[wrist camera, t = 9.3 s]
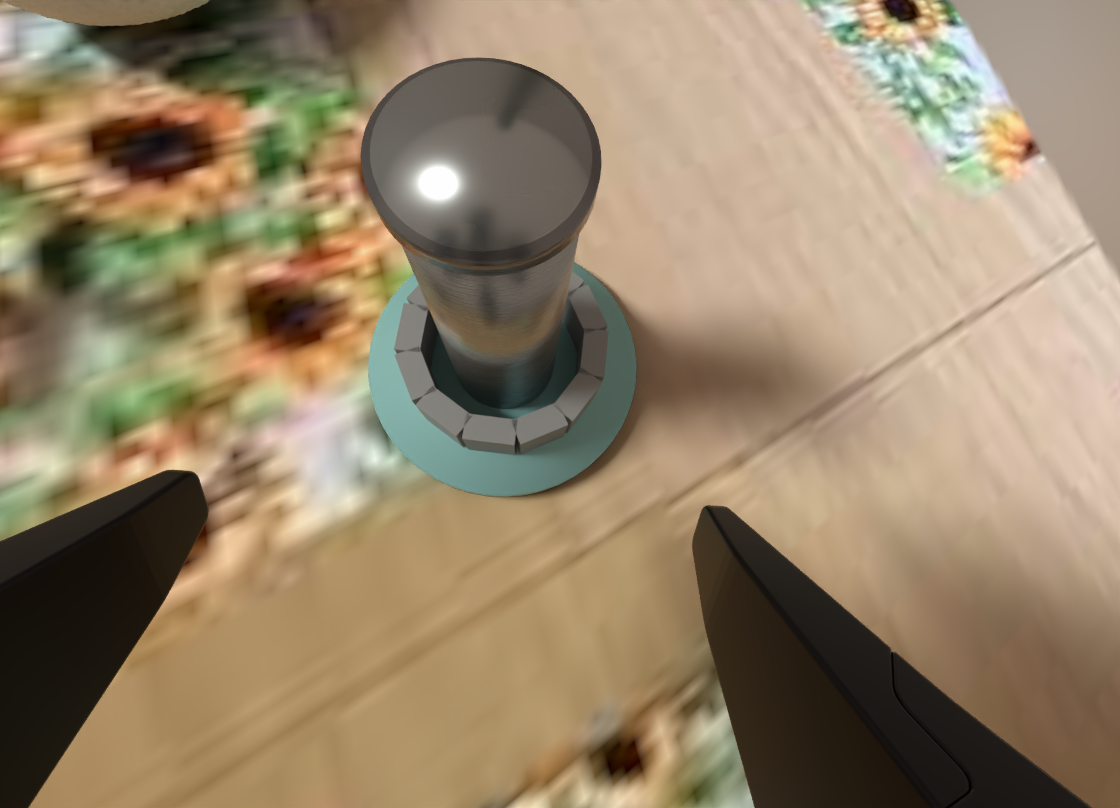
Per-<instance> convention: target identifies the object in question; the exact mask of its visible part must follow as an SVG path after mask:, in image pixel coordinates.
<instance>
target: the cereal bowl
mask: <svg viewBox="0 0 1120 808" xmlns="http://www.w3.org/2000/svg"><path fill="white" fill-rule="evenodd" d="M3 1H4V2H6V3H8V4H10V5H12V6H15V7H19V8H21V9H23V10H25V11H27V12H33V13H37V14H40V15H42V16H44V17H47V18H53V19H58V20H61V21H64V22H71V23H79V24H85V25H88V26H89V25H97V26H116V25H118V26H124V25H135V24H136V25H140V24H143V23H152V22H154V21H159V20H162V19H168V18H170V17H175V16H177V15H180V14H184V13H186V12H187V11H191V10H192V9H194V8H198V7H200V6H201V5H203V4H206V3H207V2H208V1H209V0H3Z"/></svg>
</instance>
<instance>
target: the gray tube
mask: <svg viewBox="0 0 1120 808" xmlns="http://www.w3.org/2000/svg"><path fill="white" fill-rule="evenodd" d="M361 167H362V173H363V177H364V182H365V185H366V187H367V190H368V192H369V195H370V197H371V199H372V201H373V204H374V206H375V208H376V210H377V212H378V215H379V216H380V218H381V220H382V222H383V223H384V225H385V227H386V228H387V229H388V230H389V232H390V233H391V234H392V235H393V237H394V238H395V239H396V240H397V241H398V242H399V243H400V244H401V245H402V246H403V249H404V251H405V253H406V256H407V258H408V260H409V263H410V265H411V267H412V270H413V272H414V275H415V277H416V279H417V282H418V284H419V286H420V289H421V291H422V294H423V296H424V298H425V301H426V303H427V305H428V308H429V310H430V313H431V315H432V317H433V320H434V322H435V324H436V327H437V329H438V332H439V334H440V336H441V339H442V341H443V343H444V346H445V348H446V351H447V353H448V355H449V358H450V360H451V362H452V365H453V367H454V370H455V372H456V374H457V377H458V379H459V381H460V383H461V385H462V387H463V388H464V390H465V391H466V392H467V393H468V394H469V395H470V396H471V397H472V398H473V399H475V400H476V401H478V402H479V403H481V404H483V405H486V406H488V407H492V408H497V409H511V408H517V407H521V406H523V405H526V404H528V403H529V402H531V401H533V400H534V399H536V398H537V397H538V396H539V395H540V394H541V393H542V392H543V391H544V389H545V388H546V387H547V385H548V383H549V381H550V379H551V376H552V372H553V368H554V362H555V357H556V352H557V347H558V342H559V336H560V331H561V326H562V321H563V315H564V310H565V305H566V300H567V295H568V289H569V284H570V279H571V274H572V268H573V263H574V258H575V253H576V248H577V242H578V237H579V233H580V231H581V230H582V228H583V227H584V225H585V223H586V222H587V220H588V218H589V216H590V213H591V211H592V209H593V205H594V201H595V198H596V193H597V189H598V184H599V180H600V173H601V150H600V145H599V139H598V136H597V133H596V131H595V128H594V125H593V123H592V121H591V120H590V118H589V116H588V114H587V113H586V111H585V110H584V108H583V107H582V105H581V104H580V103H579V102H578V101H577V100H576V98H575V97H574V96H573V95H572V94H571V93H570V92H569V91H567V90H566V89H565V88H564V87H563V86H562V85H560V84H559V83H558V82H556V81H555V80H553V79H552V78H550V77H549V76H547V75H545V74H543V73H541V72H539V71H537V70H535V69H532V68H530V67H527V66H524V65H522V64H518V63H514V62H511V61H506V60H500V59H494V58H463V59H457V60H450V61H446V62H442V63H439V64H435V65H432V66H430V67H427V68H425V69H422V70H420V71H418V72H416V73H415V74H413V75H411V76H409V77H407V78H406V79H405V80H403V81H402V82H400V83H399V84H398V85H396V86H395V87H394V88H393V89H392V90H391V91H390V92H389V93H388V94H387V95H386V96H385V97H384V98H383V99H382V101H381V102H380V103H379V104H378V105H377V107H376V109H375V110H374V112H373V114H372V115H371V117H370V119H369V122H368V124H367V126H366V129H365V132H364V136H363V140H362V147H361Z"/></svg>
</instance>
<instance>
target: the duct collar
mask: <svg viewBox="0 0 1120 808" xmlns="http://www.w3.org/2000/svg"><path fill="white" fill-rule="evenodd" d="M368 377H369V384H370V392H371V396H372V400H373V403H374V407H375V410H376V412H377V415H378V417H379V419H380V421H381V424H382V426H383V428H384V429H385V431H386V432H387V434H388V436H389V437H390V439H391V440H392V442H393V443H394V444H395V445H396V446H397V448H398V449H399V450H400V451H401V452H402V453H403V455H404V456H406V457H407V458H408V459H409V460H410V461H411V462H412V463H413V464H415V465H416V466H417V467H418V468H420V469H421V470H423V471H424V472H426V473H427V474H429V475H430V476H432V477H433V478H435V479H436V480H438V481H440V482H442V483H444V484H446V485H448V486H451V487H453V488H456V489H459V490H462V491H465V492H468V493H473V494H478V495H484V496H495V497H511V496H523V495H528V494H532V493H537V492H541V491H544V490H547V489H550V488H552V487H555V486H558V485H560V484H562V483H564V482H565V481H567V480H569V479H571V478H573V477H575V476H576V475H577V474H579V473H580V472H582V471H583V470H585V469H586V468H587V467H588V466H590V465H591V464H592V463H593V462H594V461H595V460H596V459H597V458H598V457H599V456H600V455H601V454H602V453H603V452H604V451H605V450H606V449H607V447H608V446H609V445H610V444H611V443H612V441H613V440H614V438H615V437H616V435H617V434H618V432H619V430H620V429H621V427H622V426H623V423H624V421H625V419H626V417H627V414H628V412H629V410H630V406H631V403H632V399H633V396H634V391H635V384H636V354H635V346H634V342H633V338H632V335H631V331H630V328H629V326H628V324H627V321H626V319H625V316H624V314H623V313H622V311H621V309H620V307H619V306H618V304H617V302H616V301H615V299H614V298H613V297H612V296H611V294H610V293H609V292H608V290H607V289H606V288H605V287H604V286H603V285H602V284H601V283H600V282H599V281H598V280H597V279H596V278H595V277H594V276H593V275H591V274H590V273H589V272H588V271H586V270H585V269H584V268H583V267H581V266H579V265H578V264H576V263H575V262H574V263H573V268H572V274H571V279H570V284H569V289H568V295H567V300H566V305H565V310H564V315H563V321H562V326H561V331H560V336H559V342H558V347H557V352H556V357H555V362H554V368H553V372H552V376H551V379H550V381H549V383H548V385H547V387H546V388H545V389H544V391H543V392H542V393H541V394H540V395H539V396H538V397H537V398H536V399H534V400H533V401H531V402H529V403H528V404H526V405H523V406H521V407H517V408H511V409H497V408H492V407H488V406H486V405H483V404H481V403H479V402H478V401H476V400H475V399H473V398H472V397H471V396H470V395H469V394H468V393H467V392H466V391H465V390H464V388H463V387H462V385H461V383H460V381H459V379H458V377H457V374H456V372H455V370H454V367H453V365H452V362H451V360H450V358H449V355H448V353H447V351H446V348H445V346H444V343H443V341H442V339H441V336H440V334H439V332H438V329H437V327H436V324H435V322H434V320H433V317H432V315H431V313H430V310H429V308H428V305H427V303H426V301H425V298H424V296H423V294H422V291H421V289H420V286H419V284H418V282H417V279H416V277H415V275H412V276H411V277H410V278H409V279H408V280H407V281H406V282H405V283H404V284H403V285H402V286H401V287H400V288H399V290H398V291H397V292H396V293H395V294H394V296H393V297H392V298H391V300H390V301H389V303H388V304H387V306H386V308H385V309H384V311H383V313H382V315H381V317H380V319H379V321H378V324H377V326H376V328H375V332H374V335H373V338H372V342H371V347H370V354H369V373H368Z"/></svg>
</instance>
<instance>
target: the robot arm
mask: <svg viewBox="0 0 1120 808" xmlns="http://www.w3.org/2000/svg"><path fill="white" fill-rule="evenodd" d="M207 517H208V504H207V501H206V498H205V495H204V492H203V489H202V486H201V483H200V480H199V477H198V476H197V475H196V474H195V473H194V472H192V471H183V470H166V471H163V472H161V473H159V474H156V475H154V476H152V477H149V478H147V479H145V480H142V481H140V482H138V483H135V484H133V485H131V486H128V487H126V488H124V489H121V490H119V491H117V492H114V493H112V494H110V495H107V496H105V497H103V498H100V499H98V500H96V501H93V502H91V503H89V504H86V505H84V506H82V507H79V508H77V509H75V510H72V511H70V512H68V513H65V514H63V515H61V516H58V517H56V518H54V519H51V520H49V521H47V522H44V523H42V524H40V525H37V526H35V527H33V528H30V529H28V530H26V531H23V532H21V533H19V534H16V535H14V536H12V537H9V538H7V539H5V540H2V541H0V808H29V806H30V805H31V803H32V802H33V800H34V799H35V797H36V796H37V794H38V792H39V791H40V789H41V788H42V786H43V785H44V783H45V782H46V780H47V779H48V777H49V776H50V774H51V773H52V771H53V770H54V768H55V767H56V765H57V764H58V762H59V761H60V759H61V758H62V756H63V755H64V753H65V751H66V750H67V748H68V747H69V745H70V744H71V742H72V741H73V739H74V738H75V736H76V735H77V733H78V732H79V730H80V729H81V727H82V726H83V724H84V723H85V721H86V720H87V718H88V717H89V715H90V713H91V712H92V710H93V709H94V707H95V706H96V704H97V703H98V701H99V700H100V698H101V697H102V695H103V694H104V692H105V691H106V689H107V688H108V686H109V685H110V683H111V682H112V680H113V679H114V677H115V676H116V674H117V672H118V671H119V669H120V668H121V666H122V665H123V663H124V662H125V660H126V659H127V657H128V656H129V654H130V653H131V651H132V650H133V648H134V647H135V645H136V644H137V642H138V641H139V639H140V638H141V636H142V635H143V633H144V631H145V630H146V628H147V627H148V625H149V624H150V622H151V621H152V619H153V618H154V616H155V615H156V613H157V612H158V610H159V608H160V607H161V605H162V604H163V602H164V600H165V599H166V597H167V595H168V593H169V591H170V590H171V588H172V586H173V584H174V582H175V580H176V578H177V576H178V575H179V573H180V571H181V569H182V567H183V565H184V563H185V561H186V559H187V557H188V555H189V553H190V552H191V550H192V548H193V546H194V544H195V542H196V540H197V538H198V536H199V534H200V532H201V531H202V529H203V527H204V525H205V523H206V520H207ZM692 550H693V557H694V563H695V569H696V575H697V582H698V588H699V594H700V600H701V607H702V613H703V619H704V624H705V629H706V633H707V637H708V641H709V645H710V648H711V652H712V656H713V659H714V663H715V666H716V670H717V674H718V677H719V681H720V684H721V688H722V692H723V695H724V699H725V702H726V706H727V710H728V713H729V717H730V720H731V724H732V728H733V731H734V735H735V739H736V742H737V746H738V749H739V753H740V757H741V760H742V764H743V767H744V771H745V775H746V778H747V782H748V785H749V789H750V793H751V796H752V800H753V803H754V807H755V808H1091V807H1090V806H1089V805H1088V804H1086V803H1085V802H1084V801H1082V800H1081V799H1080V798H1078V797H1077V796H1076V795H1075V794H1073V793H1072V792H1071V791H1069V790H1068V789H1067V788H1065V787H1064V786H1063V785H1061V784H1060V783H1059V782H1058V781H1056V780H1055V779H1054V778H1052V777H1051V776H1050V775H1048V774H1047V773H1046V772H1044V771H1043V770H1042V769H1041V768H1039V767H1038V766H1037V765H1035V764H1034V763H1033V762H1031V761H1030V760H1029V759H1028V758H1026V757H1025V756H1024V755H1022V754H1021V753H1020V752H1018V751H1017V750H1016V749H1014V748H1013V747H1012V746H1011V745H1009V744H1008V743H1007V742H1005V741H1004V740H1003V739H1001V738H1000V737H999V736H997V735H996V734H995V733H994V732H992V731H991V730H990V729H989V728H987V727H986V726H985V725H983V724H982V723H981V722H980V721H978V720H977V719H976V718H975V717H973V716H972V715H971V714H969V713H968V712H967V711H966V710H964V709H963V708H962V707H961V706H959V705H958V704H957V703H955V702H954V701H953V700H952V699H951V698H949V697H948V696H947V695H946V694H945V693H943V692H942V691H941V690H940V689H939V688H937V687H936V686H935V685H934V684H933V683H931V682H930V681H929V680H928V679H927V678H925V677H924V676H923V675H922V674H921V673H919V672H918V671H917V670H916V669H915V668H914V667H912V666H911V665H910V664H909V663H908V662H907V661H905V660H904V659H903V658H902V657H901V656H900V655H899V654H897V653H896V652H891V648H890V647H889V646H888V645H887V644H886V643H884V642H883V641H882V640H881V639H880V638H879V637H877V636H876V635H875V634H874V633H873V632H872V631H870V630H869V629H868V628H867V627H866V626H865V625H863V624H862V623H861V622H860V621H859V620H858V619H857V618H855V617H854V616H853V615H852V614H851V613H850V612H848V611H847V610H846V609H845V608H844V607H843V606H841V605H840V604H839V603H838V602H837V601H836V600H834V599H833V598H832V597H831V596H830V595H829V594H828V593H826V592H825V591H824V590H823V589H822V588H821V587H819V586H818V585H817V584H816V583H815V582H814V581H812V580H811V579H810V578H809V577H808V576H807V575H805V574H804V573H803V572H802V571H801V570H800V569H799V568H797V567H796V566H795V565H794V564H793V563H792V562H790V561H789V560H788V559H787V558H786V557H785V556H783V555H782V554H781V553H780V552H779V551H778V550H776V549H775V548H774V547H773V546H772V545H771V544H770V543H768V542H767V541H766V540H765V539H764V538H763V537H761V536H760V535H759V534H758V533H757V532H756V531H754V530H753V529H752V528H751V527H750V526H749V525H747V524H746V523H745V522H744V521H743V520H742V519H741V518H739V517H738V516H737V515H736V514H735V513H734V512H732V511H731V510H730V509H729V508H727V507H724V506H711V505H707V506H705V507H704V508H703V509H702V511H701V514H700V517H699V520H698V523H697V527H696V530H695V533H694V536H693V541H692Z"/></svg>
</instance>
